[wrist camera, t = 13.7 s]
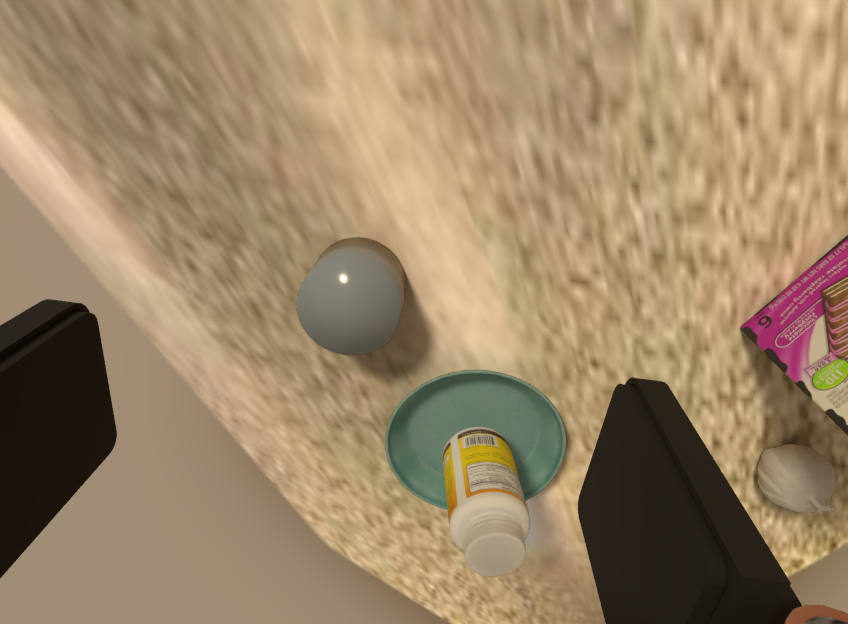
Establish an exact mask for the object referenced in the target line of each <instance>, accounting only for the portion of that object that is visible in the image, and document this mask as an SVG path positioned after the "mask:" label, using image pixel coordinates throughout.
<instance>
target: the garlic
mask: <svg viewBox="0 0 848 624" xmlns="http://www.w3.org/2000/svg"><path fill="white" fill-rule="evenodd" d="M757 471H758V485H759V487H760V489H761V490H762V492H763V493H764V494H765V496H766V497H767V498H768V499H769V500H770V501H772V502H773V503H774V504H776V505H778V506H781V507H784V508H786V509H788V510H791V511H793V512H816V511H817V510H818V509H819V510H821V511H831V512H834V511H835V509H836V508H835V506H834V505H829V504H826V503H827V501H829V500H830V499H831V497H832V494H833V492H834V489H835V486H836V479H835V472H834V470H833V466H832V464H831V463H830V462H829V461H828V460H827V459H826V458H825V457H824V456H822V455H820V454H818V453H816V452H814V451H812V450H811V449H810V448H809V447H808V446H806V445H794V444H786V445H782V446H779V447H775V448H768V449H765V450H764V451H763V452H762V454H761V458H760V461H759V463H758V466H757ZM824 504H826V505H824Z"/></svg>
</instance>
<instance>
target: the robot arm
mask: <svg viewBox="0 0 848 624" xmlns="http://www.w3.org/2000/svg"><path fill="white" fill-rule="evenodd" d="M116 436H117V431H116V426H115V420H114V414H113V408H112V402H111V396H110V390H109V385H108V378H107V373H106V367H105V361H104V356H103V349H102V344H101V338H100V332H99V326H98V321H97V318H96V317H95V315H94V314H92V313H89V310H88V309H87V307H86V306H85V305H83V304H81V303H72V302H66V301H58V300H50V299H46V300H44V301H41V302H39V303H38V304H36V305H34V306H33V307H31V308H29V309H28V310H26V311H24V312H22V313H21V314H19V315H17V316H16V317H14V318H12V319H11V320H9V321H7V322H6V323H4V324H2V325H1V326H0V578H1V577H2V576H3V575H4V573H5V572H6V571H7V570H8V569H9V568H10V567H11V565H12V564H13V563H14V562H15V561H16V560H17V559H18V558H19V556H20V555H21V554H22V553H23V552H24V551H25V550H26V548H27V547H28V546H29V545H30V544H31V543H32V542H33V541H34V539H35V538H36V537H37V536H38V535H39V534H40V533H41V531H42V530H43V529H44V528H45V527H46V526H47V525H48V523H49V522H50V521H51V520H52V519H53V518H54V517H55V515H56V514H57V513H58V512H59V511H60V510H61V509H62V508H63V506H64V505H65V504H66V503H67V502H68V501H69V500H70V498H71V497H72V496H73V495H74V494H75V493H76V492H77V490H78V489H79V488H80V487H81V486H82V485H83V484H84V482H85V481H86V480H87V479H88V478H89V477H90V476H91V474H92V473H93V472H94V471H95V470H96V469H97V468H98V466H99V465H100V464H101V463H102V462H103V461H104V460H105V459H106V457H107V456H108V455H109V454H110V453H111V451H112V449H113V447H114V445H115V442H116ZM578 514H579V519H580V523H581V527H582V531H583V535H584V539H585V543H586V547H587V551H588V555H589V559H590V563H591V567H592V571H593V575H594V579H595V583H596V587H597V591H598V594H599V598H600V602H601V606H602V610H603V614H604V618H605V622H606V624H848V614H847V613H845V612H843V611H839V610H836V609H833V608H830V607H826V606H822V605H804V606H802V605H801V603H800V602H799V600H798V598H797V597H796V595H795V593H794V592H793V590H792V588H791V587H790V584H791V583H790V581H789V580H788V578H787V576H786V575H785V573H784V572H783V570H782V568H781V567H780V565H779V563H778V562H777V560H776V559H775V557H774V555H773V554H772V552H771V551H770V549H769V547H768V546H767V544H766V543H765V541H764V539H763V538H762V536H761V535H760V533H759V531H758V530H757V528H756V526H755V525H754V523H753V522H752V520H751V518H750V517H749V515H748V514H747V512H746V510H745V509H744V507H743V506H742V504H741V502H740V501H739V499H738V497H737V496H736V494H735V493H734V491H733V489H732V488H731V486H730V485H729V483H728V481H727V480H726V478H725V477H724V475H723V473H722V472H721V470H720V469H719V467H718V465H717V464H716V462H715V460H714V459H713V457H712V456H711V454H710V452H709V451H708V449H707V448H706V446H705V444H704V443H703V441H702V440H701V438H700V436H699V435H698V433H697V431H696V430H695V428H694V427H693V425H692V423H691V422H690V420H689V419H688V417H687V415H686V414H685V412H684V411H683V409H682V407H681V406H680V404H679V403H678V401H677V399H676V398H675V396H674V394H673V393H672V391H671V390H670V388H669V386H668V385H667V384H666V383H665V382H661V381H654V380H646V379H639V378H630V379H629V380H628V381H627V382H626V384H625V385H623V384H619V385H617V386H616V388H615V390H614V392H613V395H612V398H611V401H610V404H609V407H608V410H607V413H606V417H605V420H604V423H603V426H602V429H601V432H600V435H599V438H598V441H597V444H596V447H595V450H594V453H593V456H592V459H591V462H590V465H589V468H588V471H587V474H586V477H585V480H584V483H583V486H582V489H581V492H580V495H579V500H578Z"/></svg>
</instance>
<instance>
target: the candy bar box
mask: <svg viewBox="0 0 848 624" xmlns="http://www.w3.org/2000/svg"><path fill="white" fill-rule="evenodd" d="M740 328H741V329H742V331H743V332H744V333H745V334H746V335H747V336H748V337H749V338H750V339H751V340H752V341H753V342H754V343H755V344H756V345H757V346H758V347H759V348H760V349H761V350H762V351H763V352H764V353H765V354H766V355H767V356H768V357H769V358H770V359H771V360H772V361H773V362H774V363H775V364H776V365H777V366H778V367H779V368H780V369H781V370H782V371H783V372H784V373H785V374H786V375H787V376H788V377H789V378H790V379H791V380H792V381H793V382H794V383H795V384H796V385H797V386H798V387H799V388H800V389H801V390H802V391H803V392H804V393H805V394H806V395H808V396H809V397H810V398H811V399H812V400H813V401H814V402H815V403H816V404H817V405H818V406H819V407H820V408H821V409H822V410H823V411H824V412H825V413H826V414H827V415H828V416H829V417H830V418H831V419H832V420H833V421H834V422H835V423H836V424H837V425H838V426H839V427H840V428H841V429H842V430H843V431H844V432H845V433H846V434H847V435H848V235H847V236H846V237H845V238H844V239H843V240H842V241H840V242H839V243H838V244H837V245H836V246H835V247H834V248H832V249H831V250H830V251H829V252H828V253H826V254H825V255H824V256H823V257H822V258H821V259H819V260H818V261H817V262H816V263H815V264H814V265H813V266H811V267H810V268H809V269H808V270H807V271H805V272H804V273H803V274H802V275H801V276H800V277H798V278H797V279H796V280H795V281H794V282H793V283H791V284H790V285H789V286H788V287H787V288H786V289H785V290H783V291H782V292H781V293H780V294H779V295H777V296H776V297H775V298H774V299H773V300H772V301H771V302H769V303H768V304H767V305H766V306H765V307H763V308H762V309H761V310H760V311H759V312H757V313H756V314H755V315H754V316H753V317H752V318H751V319H749V320H748V321H747V322H746V323H745V324H743V325H742V326H741V327H740Z"/></svg>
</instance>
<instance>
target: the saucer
mask: <svg viewBox="0 0 848 624" xmlns="http://www.w3.org/2000/svg"><path fill="white" fill-rule="evenodd" d="M471 427H486V428H490V429H493V430H495V431H497V432H499V433H500V434H501V435H502V436H503V437H504V438H505V439H506V440H507V442H508V443H509V446H510V448H511V452H512V455H513V459H514V462H515V466H516V469H517V473H518V477H519V481H520V484H521V487H522V491H523V495H524V498H525V501H526V500H528V499H530V498H532V497H533V496H535V495H536V494H537V493H539V492H540V491H541V490H542V489H544V488H545V487H546V486H547V485H548V484H549V483H550V481H551V480H552V479H553V478H554V477H555V475H556V473H557V471H558V470H559V468H560V466H561V464H562V461H563V458H564V454H565V449H566V434H565V429H564V425H563V422H562V419H561V417H560V415H559V413H558V411H557V410H556V408H555V407H554V405H553V404H552V403H551V402H550V400H549V399H548V398H547V397H546V396H545V395H544V394H542V393H541V392H540V391H539V390H538V389H536V388H535V387H533V386H532V385H530V384H528V383H527V382H525V381H523V380H521V379H518V378H516V377H513V376H510V375H507V374H504V373H499V372H494V371H487V370H464V371H457V372H452V373H448V374H445V375H442V376H439V377H436V378H434V379H432V380H429V381H427V382H426V383H424V384H422V385H420V386H419V387H417V388H416V389H414V390H413V391H412V392H411V393H409V394H408V395H407V396H406V397H405V398H404V399H403V400H402V401H401V402H400V404H399V405H398V406H397V408H396V409H395V411H394V412H393V414H392V416H391V418H390V420H389V423H388V426H387V430H386V434H385V450H386V456H387V460H388V462H389V465H390V467H391V469H392V471H393V472H394V474H395V476H396V477H397V478H398V480H399V481H400V482H401V483H402V484H403V486H404V487H405V488H406V489H408V490H409V491H411V492H412V493H413V494H414V495H415V496H417V497H418V498H420V499H422V500H424V501H426V502H428V503H430V504H432V505H435V506H437V507H440V508H444V509H447V510H448V507H447V497H446V488H445V478H444V468H443V451H444V448H445V446H446V444H447V442H448V441H449V440H450V438H451V437H452V436H454V435H455V434H456V433H458V432H460V431H462V430H464V429H467V428H471Z"/></svg>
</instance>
